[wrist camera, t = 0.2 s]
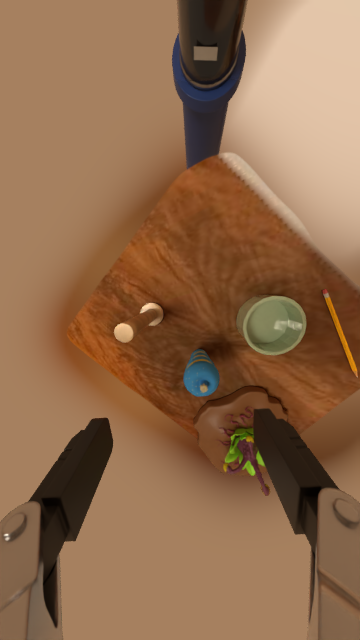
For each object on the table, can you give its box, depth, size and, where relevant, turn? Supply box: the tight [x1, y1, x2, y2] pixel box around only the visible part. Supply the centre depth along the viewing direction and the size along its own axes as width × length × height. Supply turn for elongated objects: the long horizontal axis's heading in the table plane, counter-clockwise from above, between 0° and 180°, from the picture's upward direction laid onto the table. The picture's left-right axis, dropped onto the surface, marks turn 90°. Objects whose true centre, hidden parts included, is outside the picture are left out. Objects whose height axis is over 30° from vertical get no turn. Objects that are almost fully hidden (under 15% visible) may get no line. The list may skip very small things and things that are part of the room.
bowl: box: [236, 295, 307, 355], centre depth 32 cm, size 10×10×5 cm
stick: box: [114, 303, 164, 343], centre depth 28 cm, size 5×5×15 cm
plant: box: [194, 386, 288, 496], centre depth 34 cm, size 20×20×11 cm
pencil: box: [322, 289, 358, 377], centre depth 33 cm, size 1×19×1 cm
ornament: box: [184, 349, 219, 396], centre depth 29 cm, size 5×5×15 cm
